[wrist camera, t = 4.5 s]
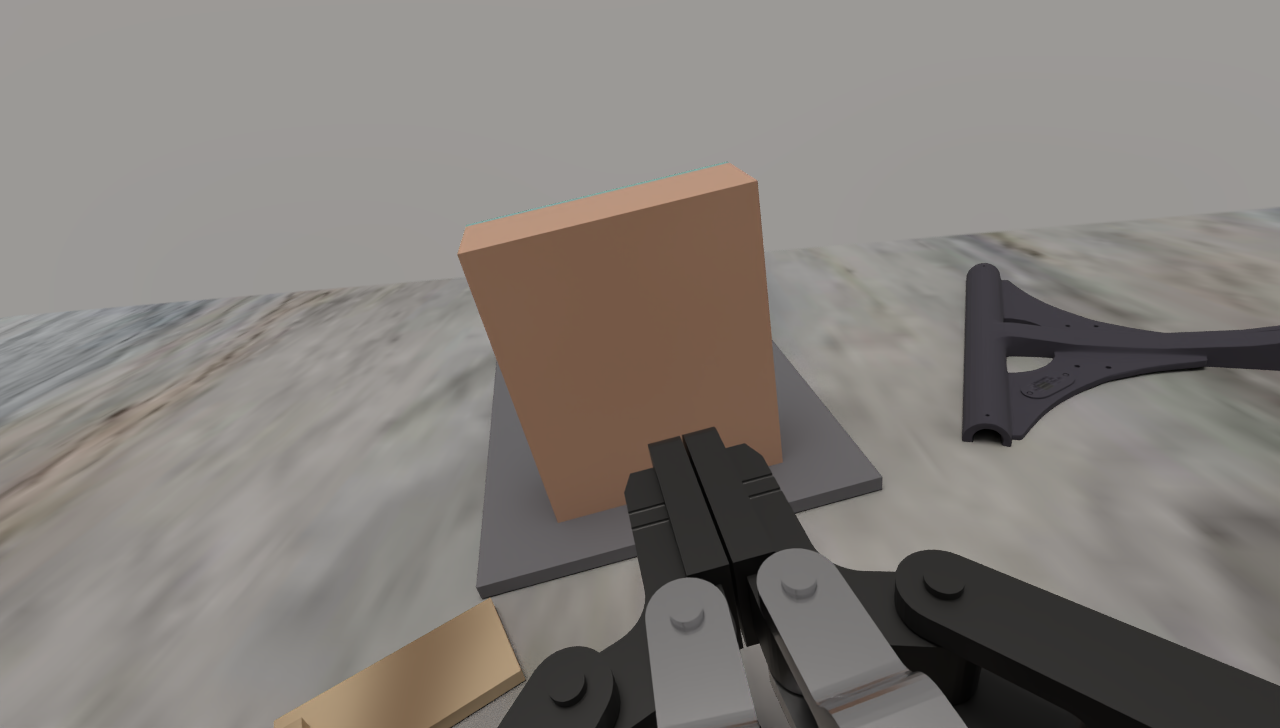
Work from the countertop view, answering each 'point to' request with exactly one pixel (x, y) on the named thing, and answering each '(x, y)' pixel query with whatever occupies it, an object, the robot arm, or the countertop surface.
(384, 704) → the turner
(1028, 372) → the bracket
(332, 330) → the countertop surface
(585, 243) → the tile
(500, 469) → the mat
